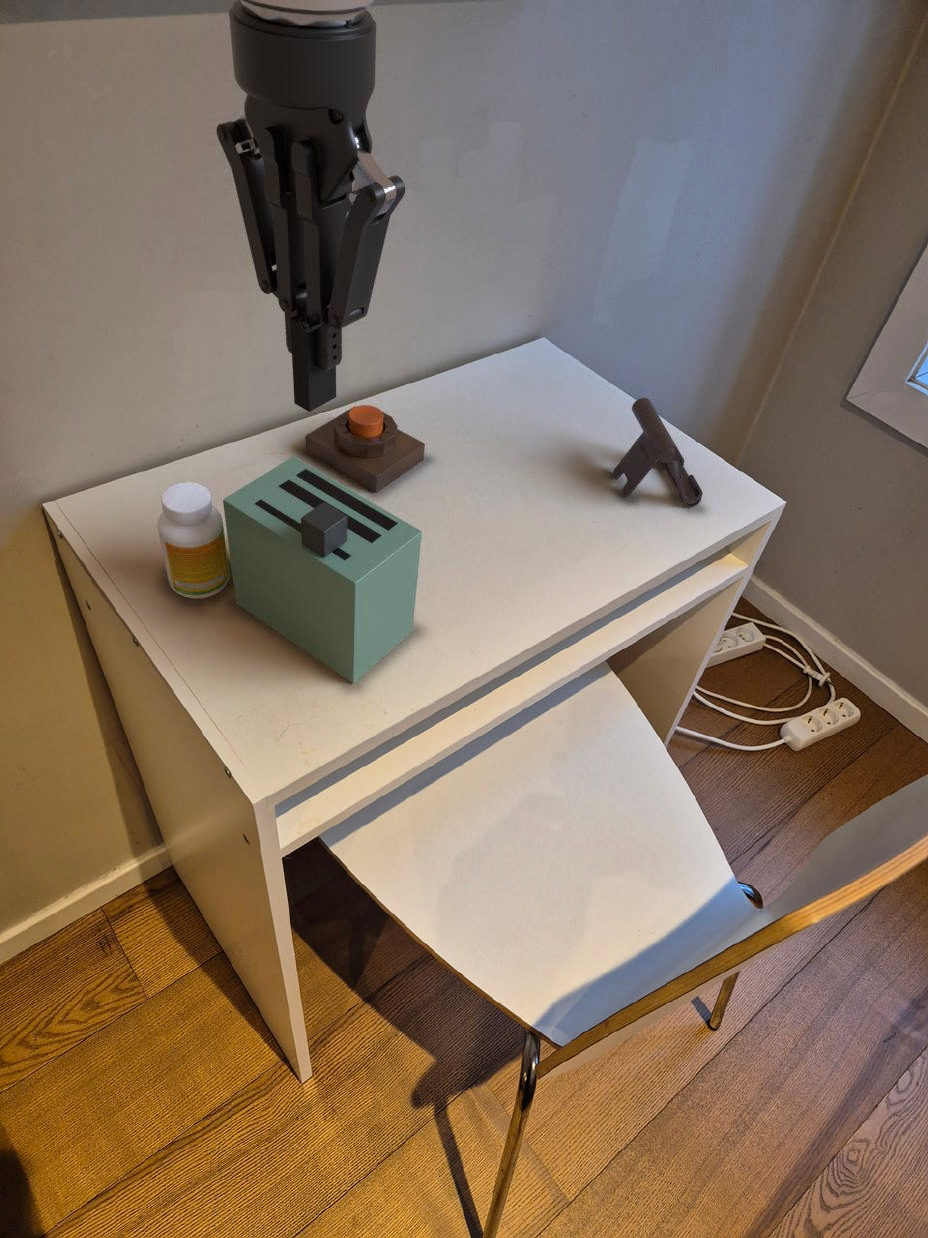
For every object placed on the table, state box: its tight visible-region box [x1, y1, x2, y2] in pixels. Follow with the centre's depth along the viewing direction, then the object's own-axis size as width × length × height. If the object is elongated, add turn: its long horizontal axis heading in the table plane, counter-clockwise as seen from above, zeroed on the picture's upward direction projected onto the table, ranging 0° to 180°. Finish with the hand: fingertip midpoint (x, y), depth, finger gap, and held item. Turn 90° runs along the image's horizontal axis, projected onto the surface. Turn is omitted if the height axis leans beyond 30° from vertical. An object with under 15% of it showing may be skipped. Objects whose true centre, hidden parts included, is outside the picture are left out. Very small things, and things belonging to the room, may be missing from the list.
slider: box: [301, 502, 347, 557], centre depth 65 cm, size 2×3×3 cm
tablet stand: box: [612, 397, 704, 509], centre depth 93 cm, size 9×8×8 cm
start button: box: [349, 404, 383, 438], centre depth 90 cm, size 4×4×2 cm
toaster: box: [222, 456, 423, 685], centre depth 73 cm, size 14×8×12 cm, turn 53°
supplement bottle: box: [157, 481, 231, 600], centre depth 75 cm, size 5×5×10 cm
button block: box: [304, 405, 426, 494], centre depth 92 cm, size 10×8×4 cm
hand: (315, 399), depth 61 cm, fingers closed
